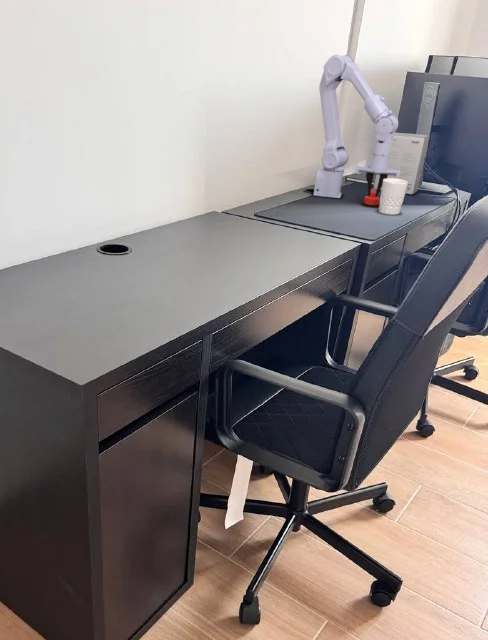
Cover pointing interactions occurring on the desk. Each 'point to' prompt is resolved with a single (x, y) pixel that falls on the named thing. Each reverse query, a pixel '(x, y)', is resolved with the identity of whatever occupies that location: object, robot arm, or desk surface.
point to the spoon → (372, 198)
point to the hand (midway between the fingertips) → (372, 196)
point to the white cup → (392, 196)
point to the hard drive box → (407, 159)
